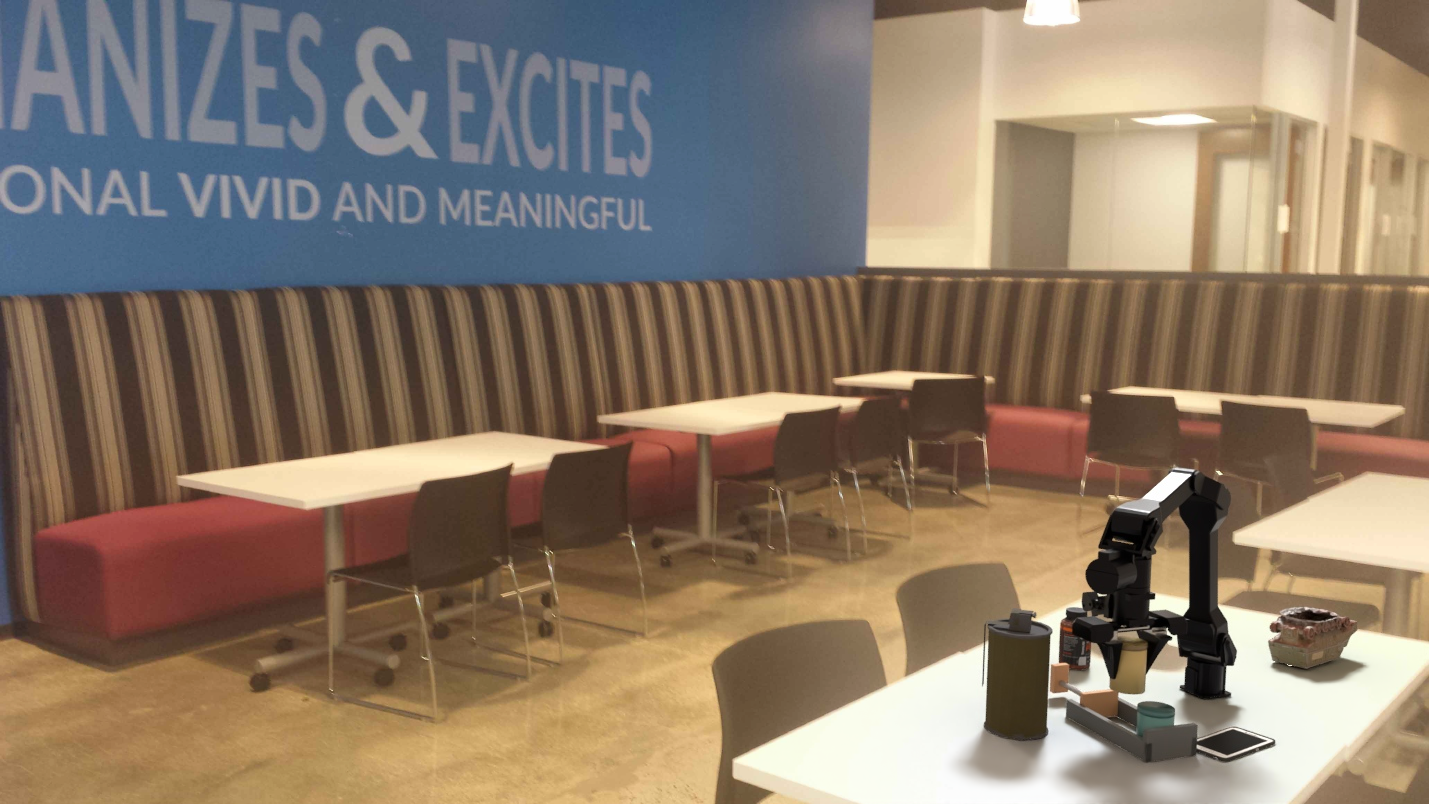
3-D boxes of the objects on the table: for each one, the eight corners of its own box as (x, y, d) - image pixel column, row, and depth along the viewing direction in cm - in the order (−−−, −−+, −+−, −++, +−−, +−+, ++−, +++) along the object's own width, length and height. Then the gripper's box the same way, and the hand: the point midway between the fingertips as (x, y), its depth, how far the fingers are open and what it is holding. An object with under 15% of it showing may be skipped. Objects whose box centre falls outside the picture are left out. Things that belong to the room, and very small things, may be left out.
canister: (1050, 722, 206) (1055, 606, 204) (1045, 744, 196) (1051, 622, 194) (984, 714, 209) (989, 600, 208) (977, 735, 200) (982, 615, 198)
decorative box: (1243, 655, 246) (1246, 608, 245) (1308, 643, 255) (1311, 597, 254) (1302, 674, 234) (1305, 625, 234) (1367, 660, 244) (1371, 613, 243)
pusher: (1073, 692, 221) (1074, 661, 220) (1117, 716, 209) (1119, 683, 208) (1040, 696, 218) (1041, 665, 218) (1082, 720, 206) (1084, 687, 206)
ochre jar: (1130, 681, 204) (1132, 635, 204) (1152, 692, 199) (1155, 644, 198) (1101, 684, 203) (1103, 637, 202) (1123, 695, 197) (1125, 647, 196)
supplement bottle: (1091, 672, 233) (1094, 614, 232) (1059, 669, 235) (1062, 612, 234) (1088, 662, 239) (1091, 606, 238) (1057, 660, 240) (1059, 604, 239)
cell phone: (1181, 749, 196) (1181, 743, 196) (1233, 731, 204) (1233, 725, 204) (1225, 765, 190) (1225, 759, 190) (1277, 745, 198) (1277, 740, 198)
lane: (1112, 711, 212) (1113, 683, 211) (1196, 755, 192) (1197, 724, 192) (1065, 716, 209) (1067, 688, 208) (1146, 762, 189) (1147, 731, 189)
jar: (1156, 741, 198) (1159, 699, 197) (1180, 754, 193) (1183, 711, 192) (1127, 745, 196) (1129, 703, 196) (1150, 758, 191) (1153, 715, 190)
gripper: (1147, 569, 210) (1142, 657, 211) (1054, 576, 204) (1050, 667, 205) (1191, 584, 199) (1187, 677, 201) (1095, 592, 193) (1091, 688, 195)
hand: (1127, 676), depth 201 cm, fingers closed on ochre jar, 6 cm apart
